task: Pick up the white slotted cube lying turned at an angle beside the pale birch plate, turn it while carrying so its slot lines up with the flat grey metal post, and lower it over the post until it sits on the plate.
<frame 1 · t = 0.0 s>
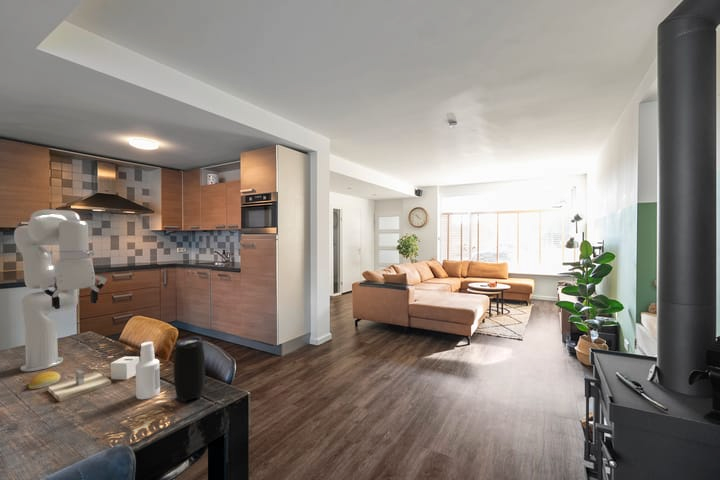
hand: (75, 305, 107), 31 cm above the table, tool pointing down, fingers open, 9 cm apart
beige square plate: (80, 387, 112), on the table
white slotted cube: (125, 375, 122), on the table
white plastic bottle: (148, 395, 107), on the table
bread roll: (44, 384, 116), on the table
portable speaker: (190, 397, 105), on the table
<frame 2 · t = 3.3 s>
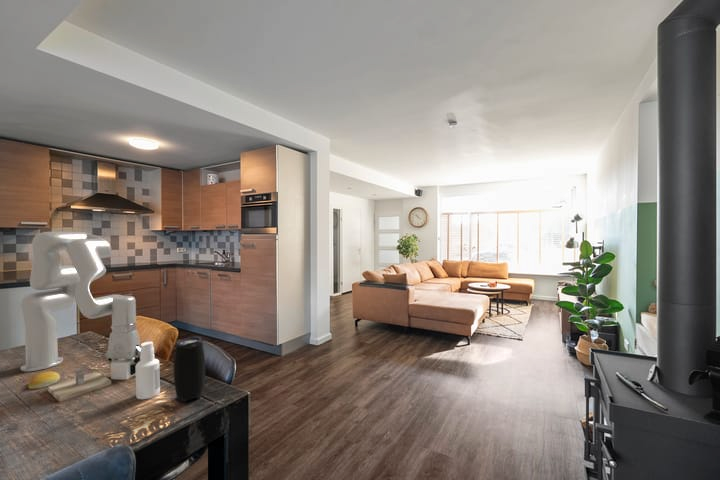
hand: (125, 372, 122), 1 cm above the table, tool pointing down, fingers closed on white slotted cube, 6 cm apart
white slotted cube: (125, 375, 122), on the table, touching gripper
everything else where it was.
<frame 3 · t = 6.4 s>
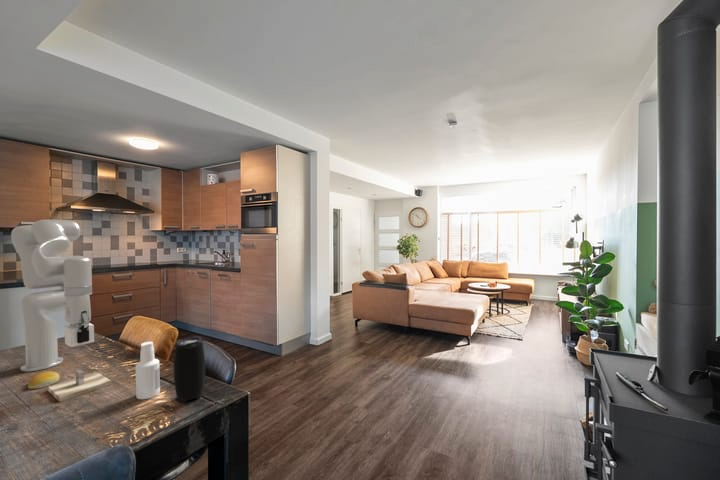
hand: (79, 339, 112), 17 cm above the table, tool pointing down, fingers closed on white slotted cube, 6 cm apart
white slotted cube: (79, 342, 112), point 16 cm above the table, touching gripper
everything else where it was.
when the fingers open (4 cm above the table, at t = 9.3 s): white slotted cube stays where it is, resting on beige square plate.
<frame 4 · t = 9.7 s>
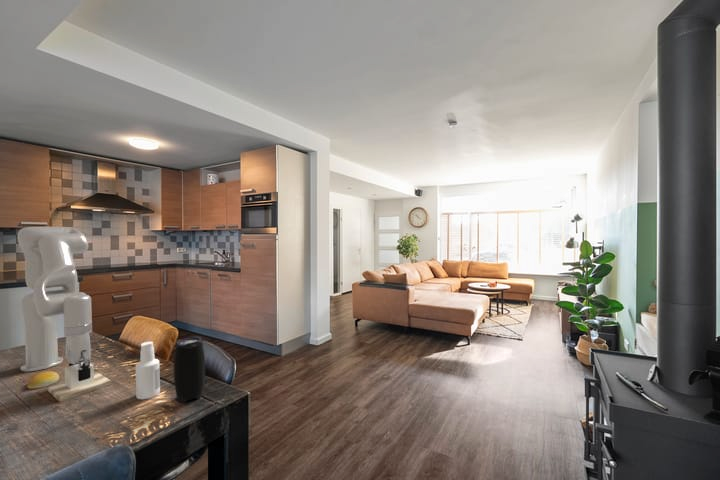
hand: (79, 376, 112), 4 cm above the table, tool pointing down, fingers open, 9 cm apart
white slotted cube: (79, 383, 112), point 1 cm above the table, touching beige square plate
everything else where it was.
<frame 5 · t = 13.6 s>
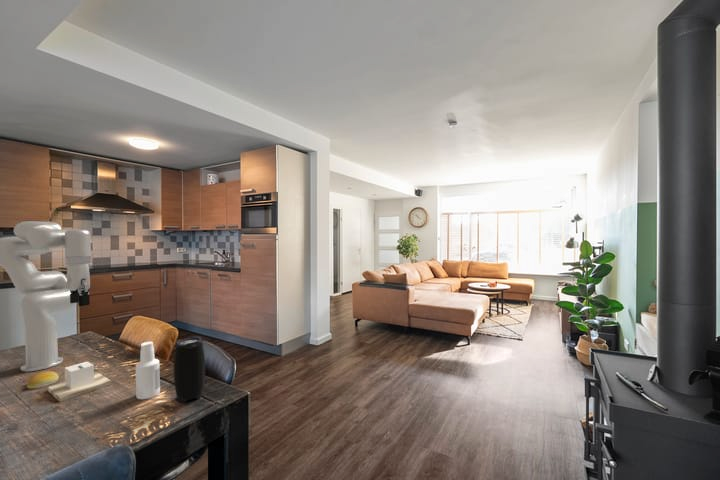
hand: (79, 304, 122), 28 cm above the table, tool pointing down, fingers open, 9 cm apart
nothing on the table moved.
at the end: white slotted cube 0.0 cm off-centre on the beige square plate, point 1.5 cm above the beige square plate's base; white slotted cube tilted 0°; the gripper is holding nothing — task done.
